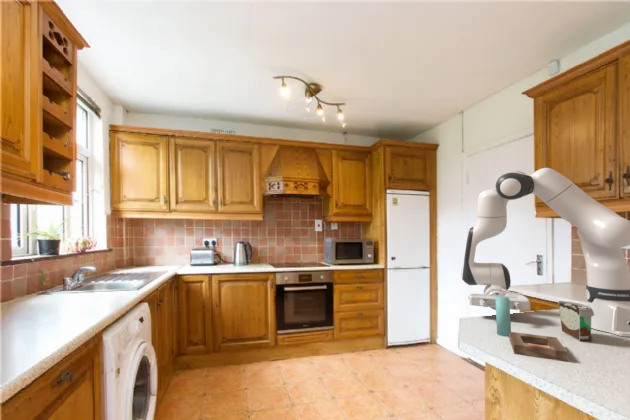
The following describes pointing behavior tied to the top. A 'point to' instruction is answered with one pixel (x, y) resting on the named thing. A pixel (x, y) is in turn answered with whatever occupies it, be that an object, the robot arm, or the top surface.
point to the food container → (576, 320)
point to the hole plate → (538, 346)
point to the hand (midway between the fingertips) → (499, 306)
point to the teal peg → (503, 316)
